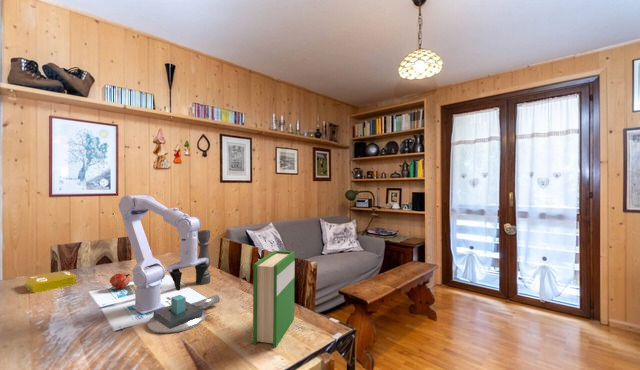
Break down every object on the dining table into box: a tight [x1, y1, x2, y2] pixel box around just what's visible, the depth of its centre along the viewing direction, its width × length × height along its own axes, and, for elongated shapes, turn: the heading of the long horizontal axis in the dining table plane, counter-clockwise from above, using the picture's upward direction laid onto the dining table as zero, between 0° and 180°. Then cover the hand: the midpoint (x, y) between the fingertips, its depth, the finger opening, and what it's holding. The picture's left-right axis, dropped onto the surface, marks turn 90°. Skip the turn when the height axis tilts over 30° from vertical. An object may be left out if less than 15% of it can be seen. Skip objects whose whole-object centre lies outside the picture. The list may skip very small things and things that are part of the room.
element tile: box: [24, 270, 77, 294], centre depth 130 cm, size 15×15×5 cm
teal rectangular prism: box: [170, 294, 187, 315], centre depth 97 cm, size 4×3×7 cm
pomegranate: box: [108, 273, 131, 291], centre depth 126 cm, size 7×7×10 cm
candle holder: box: [197, 229, 211, 286], centre depth 135 cm, size 6×6×25 cm
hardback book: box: [252, 250, 296, 348], centre depth 91 cm, size 18×7×24 cm, turn 168°
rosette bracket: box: [147, 294, 221, 335], centre depth 100 cm, size 18×24×4 cm
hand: (188, 286), depth 102 cm, fingers open, 7 cm apart
